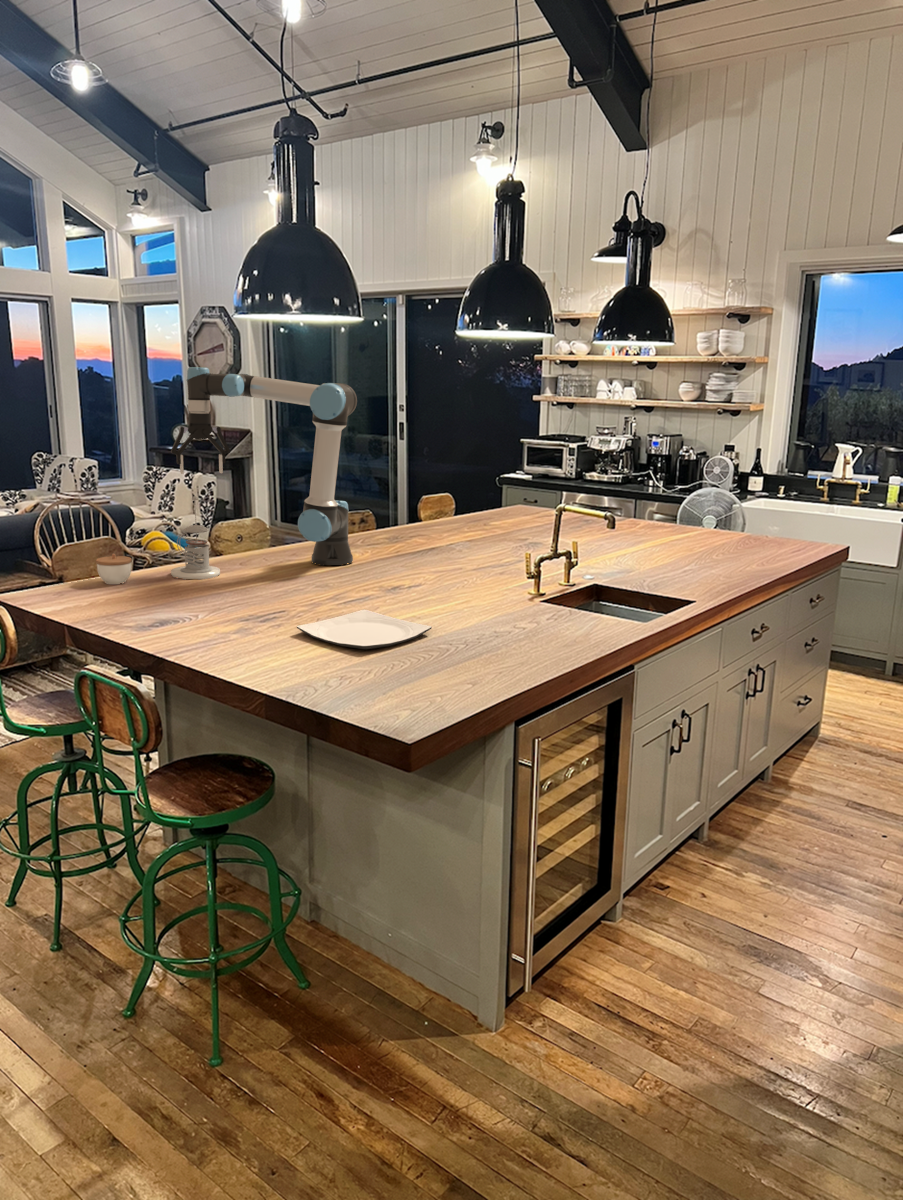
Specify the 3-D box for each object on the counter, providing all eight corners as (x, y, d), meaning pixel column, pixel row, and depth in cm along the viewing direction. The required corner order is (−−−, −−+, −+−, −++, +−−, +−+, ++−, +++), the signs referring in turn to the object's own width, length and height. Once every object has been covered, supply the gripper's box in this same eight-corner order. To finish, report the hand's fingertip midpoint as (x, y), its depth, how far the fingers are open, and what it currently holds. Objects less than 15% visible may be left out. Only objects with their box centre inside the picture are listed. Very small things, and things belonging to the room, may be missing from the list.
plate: (364, 616, 266) (364, 607, 266) (439, 636, 249) (439, 626, 248) (288, 635, 245) (288, 626, 244) (364, 658, 227) (364, 648, 227)
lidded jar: (125, 586, 292) (124, 557, 290) (92, 585, 292) (90, 556, 290) (137, 579, 302) (136, 551, 300) (105, 578, 302) (103, 550, 300)
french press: (204, 573, 306) (202, 498, 300) (172, 571, 308) (169, 497, 302) (217, 567, 315) (215, 495, 309) (185, 565, 317) (182, 493, 311)
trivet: (229, 574, 313) (229, 569, 313) (191, 581, 301) (191, 576, 300) (199, 567, 322) (199, 562, 322) (161, 574, 310) (161, 569, 309)
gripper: (233, 412, 330) (234, 471, 335) (161, 411, 320) (163, 472, 325) (237, 413, 323) (239, 473, 328) (163, 412, 313) (166, 475, 318)
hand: (201, 473), depth 326 cm, fingers open, 13 cm apart
